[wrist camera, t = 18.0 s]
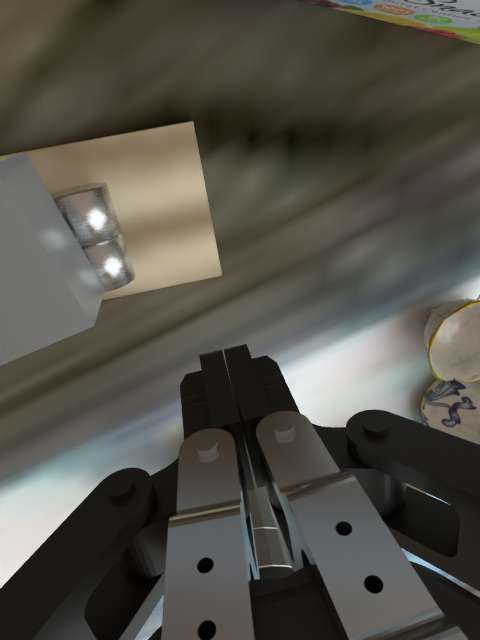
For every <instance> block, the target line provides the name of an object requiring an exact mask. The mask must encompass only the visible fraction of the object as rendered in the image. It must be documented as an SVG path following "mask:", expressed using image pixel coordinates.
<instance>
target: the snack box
mask: <svg viewBox="0 0 480 640" xmlns="http://www.w3.org/2000/svg"><path fill="white" fill-rule="evenodd" d="M299 1H303V2H307V3H311V4H316V5H320V6H325V7H329V8H334V9H338V10H342V11H346V12H349V13H353V14H358V15H362V16H366V17H370V18H374V19H378V20H382V21H387V22H391V23H395V24H399V25H403V26H407V27H411V28H416V29H420V30H424V31H428V32H432V33H436V34H440V35H444V36H448V37H452V38H456V39H460V40H464V41H468V42H472V43H477V44H480V0H299Z"/></svg>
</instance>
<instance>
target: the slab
mask: <svg viewBox="0 0 480 640" xmlns="http://www.w3.org/2000/svg"><path fill="white" fill-rule="evenodd" d="M104 291H105V287H104V285H103V284H102V282H101V280H100V279H99V277H98V275H97V273H96V272H95V270H94V268H93V267H92V265H91V263H90V262H89V260H88V258H87V257H86V255H85V253H84V251H83V250H82V248H81V246H80V245H79V243H78V241H77V240H76V238H75V236H74V234H73V233H72V231H71V229H70V228H69V226H68V224H67V223H66V221H65V219H64V218H63V216H62V214H61V212H60V211H59V209H58V207H57V206H56V204H55V202H54V201H53V199H52V197H51V196H50V194H49V192H48V190H47V189H46V187H45V185H44V184H43V182H42V180H41V179H40V177H39V175H38V174H37V172H36V170H35V168H34V167H33V165H32V163H31V162H30V160H29V158H28V157H27V155H26V153H25V152H23V153H21V154H18V155H16V156H14V157H11V158H9V159H7V160H4V161H2V162H0V366H1V365H4V364H6V363H8V362H11V361H13V360H15V359H18V358H20V357H23V356H25V355H27V354H30V353H32V352H34V351H37V350H39V349H41V348H44V347H46V346H49V345H51V344H53V343H56V342H58V341H60V340H63V339H65V338H67V337H70V336H72V335H75V334H77V333H79V332H82V331H84V330H86V329H89V328H91V327H93V326H94V325H95V322H96V318H97V315H98V311H99V308H100V304H101V301H102V297H103V294H104Z"/></svg>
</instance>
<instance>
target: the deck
mask: <svg viewBox="0 0 480 640" xmlns="http://www.w3.org/2000/svg"><path fill="white" fill-rule="evenodd" d="M23 152H25V153H26V155H27V157H28V158H29V160H30V162H31V163H32V165H33V167H34V168H35V170H36V172H37V174H38V175H39V177H40V179H41V180H42V182H43V184H44V185H45V187H46V189H47V190H48V192H49V194H50V196H51V195H52V194H55V193H57V192H60V191H62V190H65V189H69V188H72V187H76V186H80V185H85V184H90V183H98V182H105V183H107V186H108V189H109V193H110V196H111V199H112V202H113V205H114V208H115V211H116V215H117V218H118V221H119V224H120V227H121V232H122V234H123V237H124V240H125V243H126V246H127V249H128V252H129V256H130V259H131V262H132V265H133V268H134V271H135V275H136V276H135V278H134V280H133V281H131V282H130V283H129V284H127V285H125V286H123V287H121V288H118V289H116V290H113V291H109V292H105V293H104V294H103V297H102V300H105V299H110V298H115V297H120V296H125V295H130V294H134V293H139V292H144V291H149V290H154V289H159V288H164V287H168V286H173V285H178V284H183V283H188V282H193V281H198V280H202V279H207V278H212V277H217V276H222V273H221V267H220V262H219V257H218V251H217V246H216V241H215V235H214V230H213V225H212V220H211V214H210V209H209V204H208V198H207V193H206V188H205V182H204V177H203V172H202V166H201V161H200V156H199V150H198V145H197V140H196V134H195V129H194V124H193V121H188V122H182V123H177V124H171V125H166V126H160V127H155V128H149V129H144V130H138V131H133V132H127V133H122V134H116V135H111V136H105V137H100V138H94V139H89V140H83V141H78V142H72V143H67V144H61V145H56V146H50V147H45V148H39V149H34V150H28V151H23ZM23 152H17V153H12V154H6V155H1V156H0V162H2V161H4V160H7V159H9V158H11V157H14V156H16V155H18V154H21V153H23Z"/></svg>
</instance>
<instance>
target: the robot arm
mask: <svg viewBox="0 0 480 640" xmlns="http://www.w3.org/2000/svg"><path fill="white" fill-rule="evenodd" d="M224 353H225V358H226V363H227V367H226V364H225V360H224V356H223V352H222V350H218V351H214V352H210V353H205V354H201V355H199V357H200V363H201V369H202V371H198V372H194V373H189V374H186V375H185V377H184V379H183V381H182V383H181V384H180V392H181V405H182V417H183V429H184V442H183V443H182V445H181V447H180V450H179V457H178V458H177V459H176V460H175V461H174V462H173V463H172V464H170V465H169V466H168V467H166V468H164V469H163V470H161V471H159V472H157V473H155V474H153V475H151V476H150V475H149V474H148V473H147V472H146V471H144V470H142V469H139V468H126V469H122V470H119V471H117V472H114V473H112V474H111V475H109V476H108V477H106V478H105V479H104V480H103V481H102V482H101V483H100V484H99V485H98V486H97V487H96V488H95V489H94V490H93V491H92V492H91V493H90V494H89V495H88V496H87V497H86V498H85V499H84V501H83V502H82V503H81V504H80V505H79V506H78V507H77V508H76V509H75V510H74V511H73V512H72V513H71V514H70V515H69V516H68V518H67V519H66V520H65V521H64V522H63V523H62V524H61V525H60V526H59V527H58V528H57V529H56V530H55V531H54V532H53V533H52V535H51V536H50V537H49V538H48V539H47V540H46V541H45V542H44V543H43V544H42V545H41V546H40V547H39V548H38V549H37V550H36V551H35V553H34V554H33V555H32V556H31V557H30V558H29V559H28V560H27V561H26V562H25V563H24V564H23V565H22V566H21V567H20V568H19V570H18V571H17V572H16V573H15V574H14V575H13V576H12V577H11V578H10V579H9V580H8V581H7V582H6V583H5V584H4V585H3V587H2V588H1V589H0V640H134V639H135V638H136V636H137V635H138V633H139V631H140V630H141V628H142V627H143V625H144V624H145V622H146V621H147V619H148V617H149V616H150V614H151V613H152V611H153V610H154V608H155V606H156V605H157V603H158V602H159V600H160V599H161V597H162V596H163V594H164V603H163V619H162V626H161V627H160V628H158V629H157V630H156V631H155V632H154V634H153V635H152V636H151V637H150V638H149V639H148V640H480V598H479V597H477V596H476V595H474V594H472V593H471V592H469V591H467V590H466V589H464V588H462V587H461V586H459V585H457V584H456V583H454V582H452V581H451V580H449V579H447V578H446V577H444V576H442V575H441V574H439V573H437V572H435V571H433V570H431V569H429V568H427V567H425V566H423V565H420V564H417V563H414V562H411V561H409V560H408V559H407V557H406V556H405V554H404V552H403V551H402V549H401V548H403V549H405V550H406V551H408V552H410V553H412V554H414V555H415V556H417V557H419V558H421V559H423V560H424V561H426V562H428V563H430V564H432V565H433V566H435V567H437V568H439V569H441V570H442V571H444V572H446V573H448V574H450V575H451V576H453V577H455V578H457V579H459V580H460V581H462V582H464V583H466V584H468V585H469V586H471V587H473V588H475V589H477V590H478V591H480V445H479V444H476V443H474V442H471V441H468V440H465V439H462V438H460V437H457V436H454V435H451V434H448V433H446V432H443V431H440V430H437V429H434V428H432V427H429V426H426V425H423V424H421V423H418V422H415V421H412V420H409V419H407V418H404V417H401V416H398V415H395V414H393V413H390V412H387V411H382V410H366V411H362V412H359V413H357V414H355V415H353V416H352V417H351V418H350V419H349V420H348V422H347V424H346V427H334V428H332V427H321V426H318V425H315V424H312V423H311V422H310V421H309V420H308V418H307V417H305V416H304V415H302V414H300V412H299V410H298V408H297V405H296V403H295V401H294V399H293V397H292V395H291V392H290V390H289V388H288V386H287V384H286V382H285V379H284V377H283V375H282V373H281V371H280V368H279V366H278V364H277V362H275V361H274V360H272V359H271V358H269V357H268V356H262V357H258V358H254V359H252V358H251V355H250V352H249V350H248V347H247V345H246V344H244V345H240V346H235V347H231V348H227V349H224ZM227 368H228V371H227ZM228 373H229V375H228ZM229 377H230V379H229ZM230 382H231V383H230ZM407 484H408V485H411V486H413V487H415V488H417V489H419V490H422V491H424V492H426V493H428V494H430V495H432V496H435V497H437V498H439V499H441V500H443V501H445V502H447V503H448V504H446V503H444V502H442V501H440V500H438V499H435V498H433V497H431V496H429V495H427V494H425V493H422V492H420V491H418V490H416V489H414V488H411V487H409V486H407ZM449 504H450V505H449ZM400 547H401V548H400Z"/></svg>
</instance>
